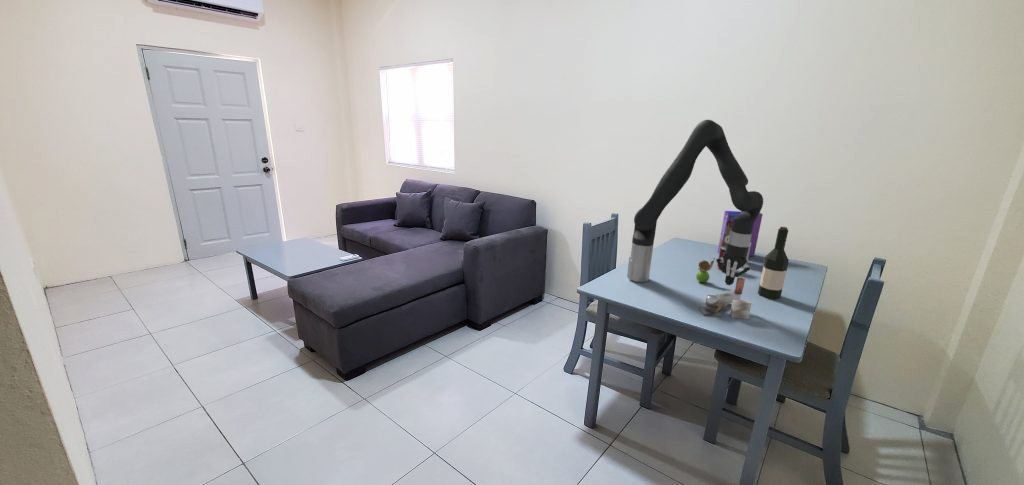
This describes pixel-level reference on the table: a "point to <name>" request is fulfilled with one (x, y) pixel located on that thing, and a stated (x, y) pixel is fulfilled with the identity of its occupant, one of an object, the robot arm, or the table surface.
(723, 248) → the soda can
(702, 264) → the snail figurine
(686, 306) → the table surface
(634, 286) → the table surface
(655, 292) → the table surface
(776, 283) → the wine bottle
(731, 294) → the bar
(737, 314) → the base
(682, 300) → the table surface
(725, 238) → the cereal box
